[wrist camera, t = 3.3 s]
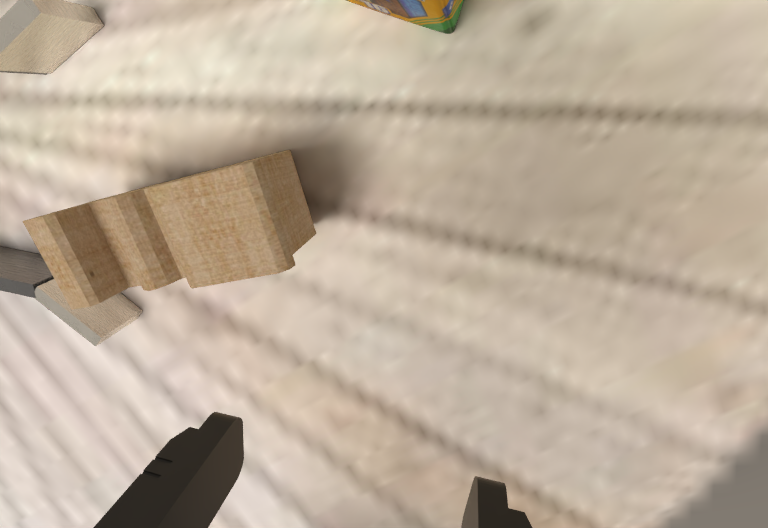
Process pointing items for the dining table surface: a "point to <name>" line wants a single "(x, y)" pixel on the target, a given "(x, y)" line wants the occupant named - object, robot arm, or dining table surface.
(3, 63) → the bay
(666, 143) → the dining table surface
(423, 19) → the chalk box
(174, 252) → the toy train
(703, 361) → the dining table surface
